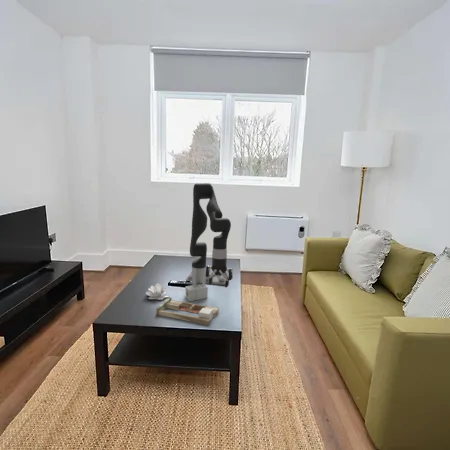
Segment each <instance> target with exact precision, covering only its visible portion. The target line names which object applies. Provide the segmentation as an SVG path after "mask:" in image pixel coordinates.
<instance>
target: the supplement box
mask: <svg viewBox="0 0 450 450" xmlns="http://www.w3.org/2000/svg"><path fill="white" fill-rule="evenodd" d="M208 289H209V287H208V286H207V284H206V285H204V284H197V285H192V284H191V285H187V286H185V298H186V299H187V301H189V302H193V301H198V300H204V299H207V298H208V291H209V290H208Z"/></svg>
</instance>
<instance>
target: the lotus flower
mask: <svg viewBox="0 0 450 450" xmlns="http://www.w3.org/2000/svg"><path fill="white" fill-rule="evenodd" d="M147 289H148V290H147V291H145V294H146V295H147V296H149V297H147V298H148V299H149V300H164V299H165V298H169V297H170V296H169V295H166V294H167V290H168V288H167V287H164V286H163V285H162V284H160V283H158V282H157V283H156V284H155V285H151V286H150V287H149V288H147Z"/></svg>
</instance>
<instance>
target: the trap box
mask: <svg viewBox="0 0 450 450" xmlns="http://www.w3.org/2000/svg"><path fill="white" fill-rule="evenodd" d="M202 308H208V309H213V318H215V317H216V316H217V315H218V314H219V312H220V311H219V309H220V308H219V307H214V306H208V305H202V304H197V303H191V302H185V301H180V300H173V298H172V297H171V296H169V297H167V298H166V299H165V300H164V301H163V302H162V303H161V304H159V305H158V306H157V307H156V308H155V309H156V312H155V314H156V315H157V316H161V317H167V318H172V319H177V320H183V321H187V322H193V323H198V324H201V325H209V326H210V325H211V321H210V319H206V318H201V317H199V316H195V315H189V314H184V313H179V312H174V311H168V310H167V309H171V310H176V311H184V312H188V313H194V314H198V315H199V312H200V310H201V309H202Z"/></svg>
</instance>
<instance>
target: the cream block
mask: <svg viewBox="0 0 450 450" xmlns="http://www.w3.org/2000/svg"><path fill="white" fill-rule="evenodd" d="M198 317H201V318H206V319H210V322H211V321H212V320H213V318H214V317H213V309H208V308H202V309H201V310H200V312H199V314H198Z"/></svg>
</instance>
